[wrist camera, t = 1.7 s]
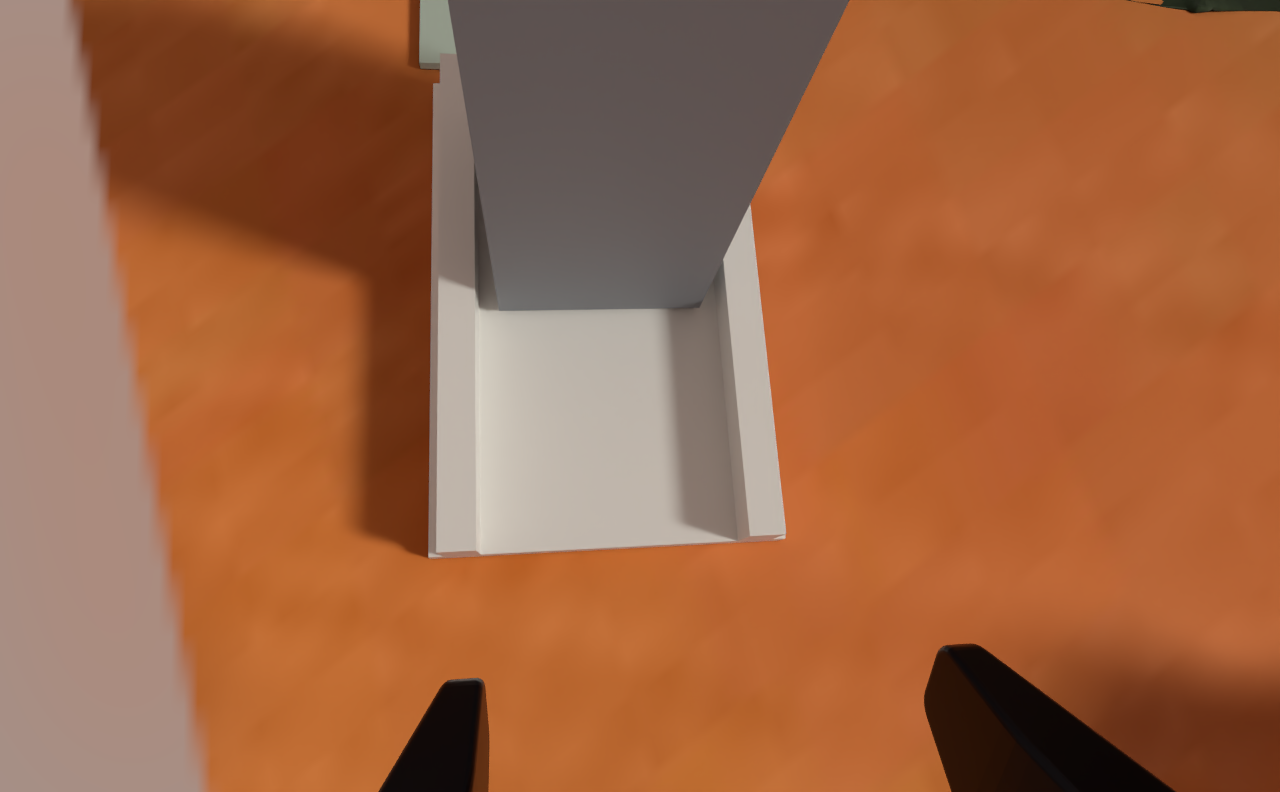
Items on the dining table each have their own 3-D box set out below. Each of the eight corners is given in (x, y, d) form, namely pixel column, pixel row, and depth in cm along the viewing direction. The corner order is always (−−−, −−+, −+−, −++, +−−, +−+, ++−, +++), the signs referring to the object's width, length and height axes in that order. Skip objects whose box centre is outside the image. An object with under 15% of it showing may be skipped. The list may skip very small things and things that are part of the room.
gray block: (699, 308, 24) (864, -31, 11) (499, 311, 23) (440, -49, 11) (684, 135, 25) (815, -330, 13) (496, 132, 25) (442, -362, 12)
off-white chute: (779, 540, 23) (800, 533, 21) (431, 558, 22) (419, 553, 20) (732, 100, 27) (747, 61, 25) (435, 95, 26) (426, 53, 24)
